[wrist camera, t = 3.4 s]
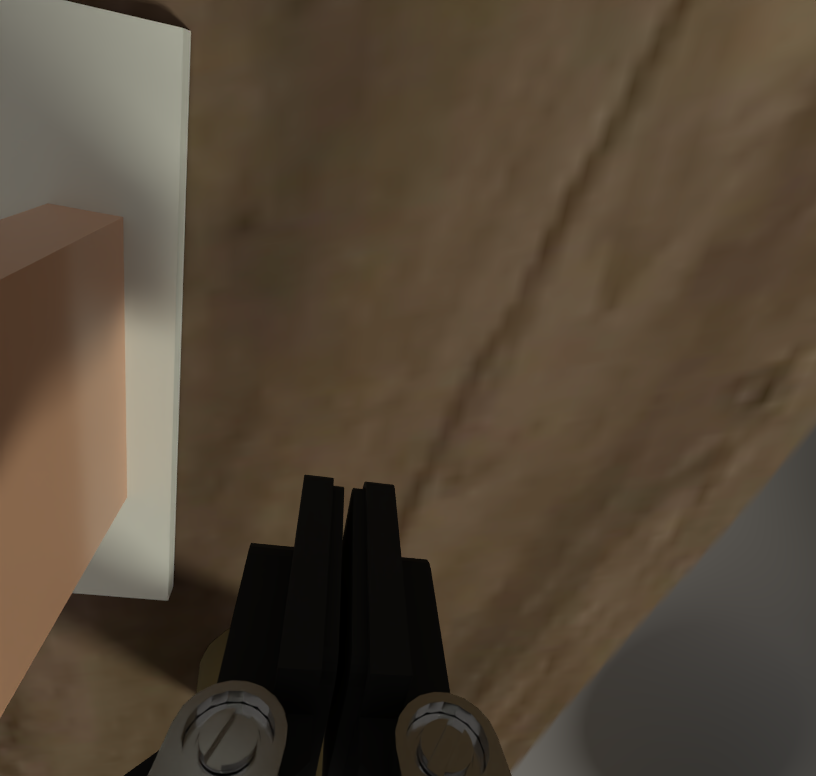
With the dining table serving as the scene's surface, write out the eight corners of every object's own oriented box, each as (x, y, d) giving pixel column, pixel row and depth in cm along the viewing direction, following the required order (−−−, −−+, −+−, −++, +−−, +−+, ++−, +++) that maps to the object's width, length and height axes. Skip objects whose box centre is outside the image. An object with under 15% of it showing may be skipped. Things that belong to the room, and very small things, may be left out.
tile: (40, 201, 13) (-357, 332, 6) (123, 217, 13) (-157, 359, 6) (62, 490, 16) (-169, 796, 9) (127, 496, 16) (-48, 799, 9)
